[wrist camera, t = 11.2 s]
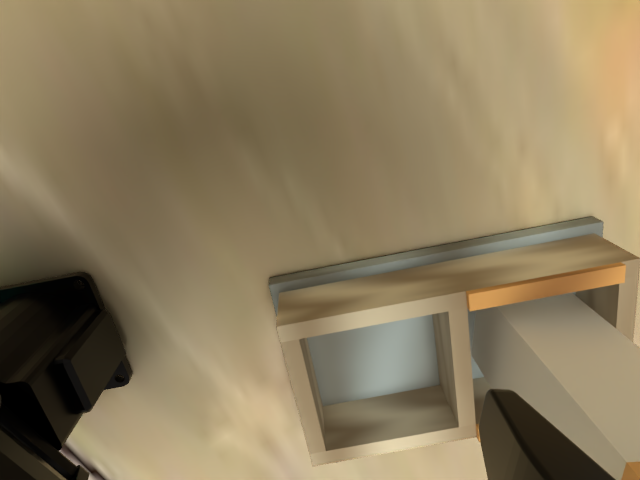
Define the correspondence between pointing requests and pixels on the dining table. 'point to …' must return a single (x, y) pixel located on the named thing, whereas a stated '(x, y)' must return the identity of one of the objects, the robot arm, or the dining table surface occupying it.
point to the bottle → (567, 373)
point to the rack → (427, 331)
